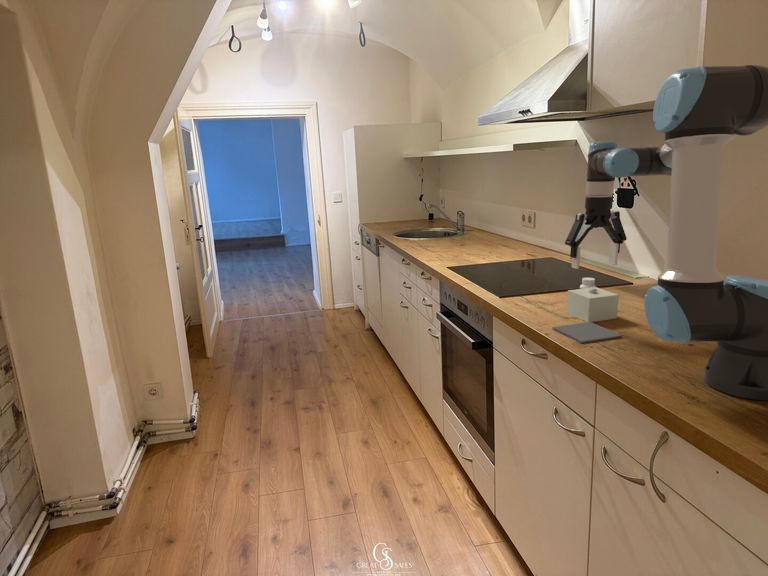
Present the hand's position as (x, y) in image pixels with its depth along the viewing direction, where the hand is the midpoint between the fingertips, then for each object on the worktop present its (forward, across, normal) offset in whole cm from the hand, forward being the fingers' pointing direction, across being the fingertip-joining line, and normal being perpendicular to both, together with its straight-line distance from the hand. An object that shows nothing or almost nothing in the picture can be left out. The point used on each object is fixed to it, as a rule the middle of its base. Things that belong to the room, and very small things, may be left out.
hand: (594, 266), depth 155 cm
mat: (+16, +12, +13) cm, 24 cm away
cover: (+16, 0, 0) cm, 16 cm away
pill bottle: (+16, -7, -11) cm, 21 cm away
